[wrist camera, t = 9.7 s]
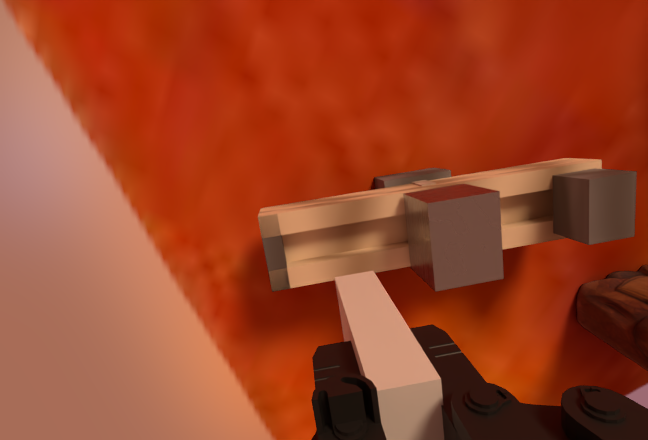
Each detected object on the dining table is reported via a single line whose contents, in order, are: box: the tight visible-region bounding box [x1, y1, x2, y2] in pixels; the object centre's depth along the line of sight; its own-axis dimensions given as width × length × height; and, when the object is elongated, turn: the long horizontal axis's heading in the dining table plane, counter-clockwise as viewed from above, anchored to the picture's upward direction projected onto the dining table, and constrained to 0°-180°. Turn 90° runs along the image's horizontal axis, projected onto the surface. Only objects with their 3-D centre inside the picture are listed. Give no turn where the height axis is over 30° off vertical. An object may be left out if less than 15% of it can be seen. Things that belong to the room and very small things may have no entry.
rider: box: [403, 184, 504, 292], centre depth 23 cm, size 4×5×5 cm
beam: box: [258, 158, 637, 292], centre depth 26 cm, size 23×6×9 cm, turn 99°
